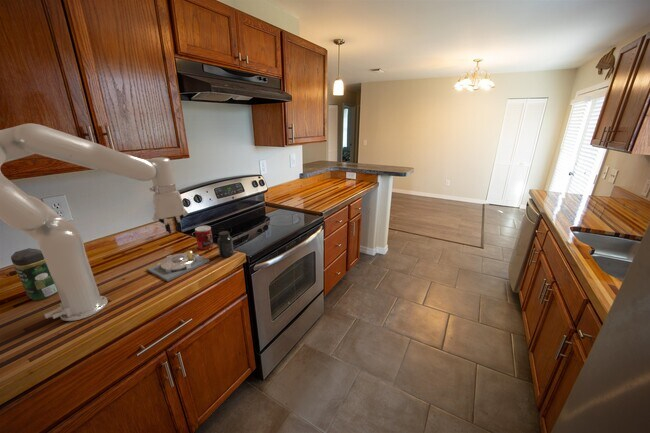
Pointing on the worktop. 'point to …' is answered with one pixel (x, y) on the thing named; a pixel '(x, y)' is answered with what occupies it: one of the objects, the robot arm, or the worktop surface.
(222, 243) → the supplement bottle
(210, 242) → the canned food
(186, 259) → the silver shallow bowl
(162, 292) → the worktop surface
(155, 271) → the base plate
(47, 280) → the coffee jar
